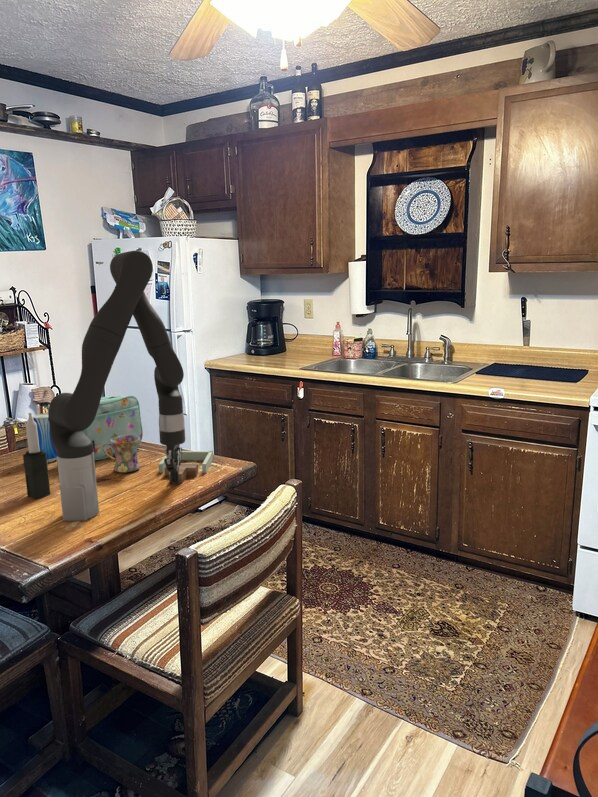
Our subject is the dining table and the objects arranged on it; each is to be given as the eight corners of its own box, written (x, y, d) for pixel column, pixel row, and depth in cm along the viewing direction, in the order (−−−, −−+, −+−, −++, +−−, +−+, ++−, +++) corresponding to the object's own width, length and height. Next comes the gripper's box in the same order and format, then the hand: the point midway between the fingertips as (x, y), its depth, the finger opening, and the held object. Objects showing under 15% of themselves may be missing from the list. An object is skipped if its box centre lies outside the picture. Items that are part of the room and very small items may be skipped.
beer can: (34, 458, 208) (29, 414, 205) (60, 454, 211) (55, 411, 208) (35, 464, 201) (30, 419, 197) (61, 461, 204) (57, 416, 201)
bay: (206, 472, 191) (205, 464, 190) (159, 472, 191) (158, 464, 191) (213, 459, 205) (213, 450, 204) (169, 459, 205) (169, 451, 204)
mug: (143, 464, 200) (141, 434, 197) (139, 473, 191) (137, 442, 188) (107, 466, 198) (104, 436, 196) (101, 475, 189) (98, 444, 187)
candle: (52, 493, 174) (43, 411, 169) (37, 499, 170) (27, 415, 165) (41, 490, 177) (32, 409, 171) (25, 496, 173) (16, 413, 167)
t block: (191, 483, 182) (191, 474, 181) (159, 483, 182) (159, 473, 181) (198, 472, 191) (198, 463, 191) (168, 472, 192) (167, 463, 191)
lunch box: (87, 466, 199) (81, 404, 194) (67, 461, 204) (61, 401, 200) (146, 446, 221) (142, 390, 216) (127, 442, 226) (123, 387, 221)
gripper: (179, 433, 170) (182, 490, 173) (189, 421, 182) (191, 474, 186) (153, 433, 170) (157, 490, 173) (165, 421, 183) (168, 474, 186)
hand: (175, 482), depth 180 cm, fingers closed
